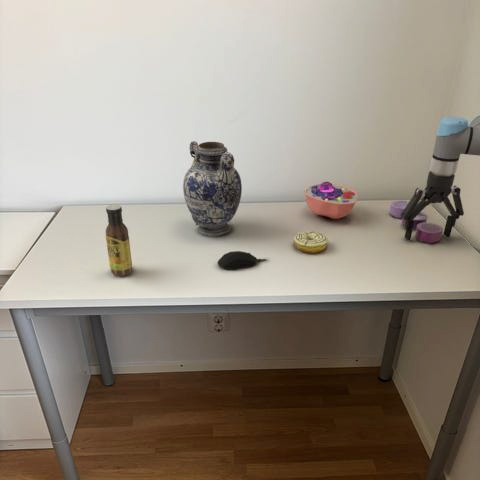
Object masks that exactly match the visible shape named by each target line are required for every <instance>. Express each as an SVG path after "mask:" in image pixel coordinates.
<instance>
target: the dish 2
mask: <svg viewBox="0 0 480 480" xmlns="http://www.w3.org/2000/svg"><path fill="white" fill-rule="evenodd" d="M443 232H444V229H443V226H441V225H440V224H436V223H432V222H427V223H420V224H418V225H417V227H416V230H414V237H415V238H416V239H417V240H418V241H420V242H421V243H426V244H433V243H437V242H439V241H440V240H441V239H442V235H443V234H442V233H443Z"/></svg>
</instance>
